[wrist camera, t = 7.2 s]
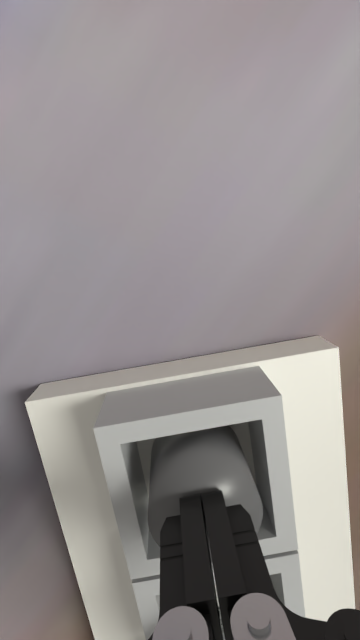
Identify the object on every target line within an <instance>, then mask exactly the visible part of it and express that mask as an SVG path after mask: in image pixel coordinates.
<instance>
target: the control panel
mask: <svg viewBox="0 0 360 640" xmlns="http://www.w3.org/2000/svg"><path fill="white" fill-rule="evenodd" d="M25 405H26V408H27V412H28V415H29V418H30V422H31V425H32V429H33V432H34V435H35V439H36V442H37V446H38V449H39V452H40V456H41V459H42V462H43V466H44V469H45V473H46V476H47V479H48V483H49V486H50V490H51V493H52V496H53V500H54V503H55V507H56V510H57V513H58V517H59V520H60V524H61V527H62V530H63V534H64V537H65V541H66V544H67V547H68V551H69V554H70V557H71V561H72V564H73V568H74V571H75V574H76V578H77V581H78V585H79V588H80V591H81V595H82V598H83V602H84V605H85V608H86V612H87V615H88V619H89V622H90V625H91V629H92V632H93V635H94V639H95V640H148V639H149V638H150V636H151V635H152V633H153V632H154V629H155V627H156V625H157V623H158V619H159V611H160V547H159V546H158V545H157V543H156V542H155V540H154V539H153V537H152V535H151V533H150V530H149V527H148V499H149V483H150V466H151V451H152V446H153V443H154V440H155V438H158V437H164V436H170V435H175V434H181V433H187V432H192V431H198V430H204V429H210V428H215V427H221V426H227V425H229V426H230V427H231V428H232V429H233V431H234V432H235V434H236V435H237V437H238V440H239V442H240V445H241V448H242V450H243V453H244V456H245V458H246V461H247V464H248V466H249V469H250V471H251V474H252V477H253V479H254V482H255V485H256V487H257V490H258V493H259V495H260V498H261V501H262V506H263V518H262V522H261V526H260V528H259V531H258V533H257V537H258V540H259V544H260V547H261V550H262V553H263V556H264V559H265V562H266V565H267V568H268V572H269V575H270V578H271V581H272V584H273V587H274V590H275V592H276V595H277V596H278V598H279V600H280V601H281V602H282V603H283V604H284V605H285V606H286V607H287V608H288V609H289V610H290V611H292V612H293V613H295V614H297V615H299V616H302V617H305V618H309V619H315V620H320V621H326V622H327V620H328V618H329V617H330V616H331V615H332V614H333V613H334V612H336V611H338V610H340V609H346V608H350V609H355V597H354V581H353V565H352V550H351V534H350V518H349V503H348V487H347V471H346V455H345V440H344V424H343V408H342V392H341V377H340V361H339V347H337V346H335V345H334V344H332V343H330V342H329V341H327V340H325V339H324V338H322V337H320V336H319V335H318V336H312V337H307V338H301V339H295V340H289V341H284V342H278V343H272V344H267V345H261V346H255V347H249V348H244V349H238V350H232V351H226V352H221V353H215V354H209V355H203V356H198V357H192V358H186V359H180V360H175V361H169V362H163V363H158V364H152V365H146V366H140V367H135V368H129V369H123V370H117V371H112V372H106V373H100V374H94V375H89V376H83V377H77V378H71V379H66V380H60V381H54V382H48V383H43V384H40V385H39V386H38V388H37V389H36V390H35V391H34V392H33V393H32V394H31V396H30V397H29V398H28V399H27V400H26V401H25ZM212 570H213V564H212ZM213 576H214V570H213ZM214 583H215V577H214ZM215 589H216V583H215ZM216 596H217V589H216ZM217 602H218V596H217ZM218 607H219V602H218Z"/></svg>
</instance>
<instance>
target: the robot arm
mask: <svg viewBox="0 0 360 640" xmlns="http://www.w3.org/2000/svg"><path fill="white" fill-rule="evenodd" d="M202 500H203V506H204V512H205V519H206V525H207V532H208V538H209V544H208V538H207V532H206V526H205V520H204V515H203V509H202V504H201V498H200V494H198V495H192V496H187V497H181V498H179V502H180V515H177V516H172V517H166V519H165V522H164V524H163V526H162V528H161V531H160V611H159V619H158V623H157V625H156V627H155V629H154V632H153V633H152V635H151V636H150V638H149V639H148V640H223V635H222V628H221V622H220V615H219V609H218V602H219V607H220V613H221V619H222V624H223V630H224V635H225V640H360V610H356V609H350V608H346V609H340V610H338V611H336V612H334V613H333V614H332V615H331V616H330V617H329V618H328V620H327V622H326V621H320V620H315V619H309V618H305V617H302V616H299V615H297V614H295V613H293V612H292V611H290V610H289V609H288V608H287V607H286V606H285V605H284V604H283V603H282V602H281V601H280V600H279V598H278V596H277V595H276V592H275V590H274V587H273V584H272V581H271V578H270V575H269V572H268V568H267V565H266V562H265V559H264V556H263V553H262V550H261V547H260V544H259V540H258V537H257V534H256V532H255V528H254V525H253V522H252V519H251V516H250V514H249V513H248V512H247V511H246V510H245V509H244V508H243V506H242V505H241V504H238V505H232V506H227V507H226V505H225V501H224V497H223V492H222V490H220V491H214V492H209V493H203V494H202ZM209 545H210V550H209ZM210 551H211V556H210ZM211 557H212V563H211ZM212 564H213V570H214V576H213V570H212ZM214 577H215V583H216V589H217V596H218V602H217V596H216V589H215V583H214Z"/></svg>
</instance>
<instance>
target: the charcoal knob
mask: <svg viewBox="0 0 360 640" xmlns="http://www.w3.org/2000/svg"><path fill="white" fill-rule="evenodd" d="M220 490H222V492H223V497H224V501H225V505H226V507H227V506H232V505H238V504H241V505H242V506H243V508H244V509H245V510H246V511H247V512H248V513H249V514H250V516H251V519H252V522H253V525H254V528H255V532H256V534H257V533H258V531H259V528H260V526H261V522H262V518H263V506H262V501H261V498H260V495H259V493H258V490H257V487H256V485H255V482H254V479H253V477H252V474H251V471H250V469H249V466H248V464H247V461H246V458H245V456H244V453H243V450H242V448H241V445H240V442H239V440H238V437H237V435H236V434H235V432H234V431H233V429H232V428H231V427H230V426H229V425H227V426H221V427H215V428H210V429H204V430H198V431H192V432H187V433H181V434H175V435H170V436H164V437H158V438H155V440H154V443H153V446H152V451H151V466H150V483H149V499H148V527H149V530H150V533H151V535H152V537H153V539H154V540H155V542H156V543H157V545H158V546H159V547H160V531H161V528H162V526H163V524H164V522H165V519H166V517H172V516H177V515H180V502H179V498H181V497H187V496H192V495H198V494H200V498H201V504H202V509H203V515H204V520H205V526H206V532H207V525H206V519H205V512H204V506H203V500H202V494H203V493H209V492H214V491H220ZM207 538H208V532H207ZM208 544H209V538H208ZM209 550H210V545H209ZM210 556H211V551H210ZM211 563H212V557H211Z"/></svg>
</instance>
